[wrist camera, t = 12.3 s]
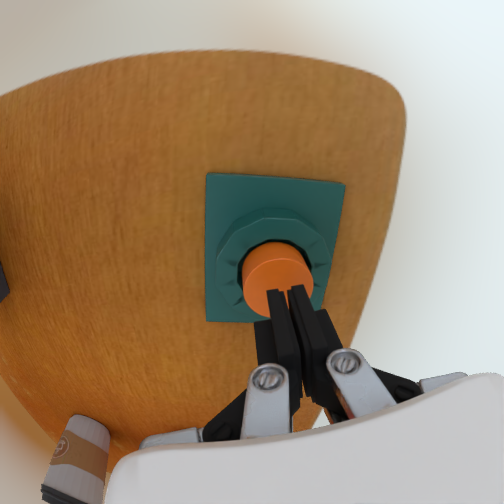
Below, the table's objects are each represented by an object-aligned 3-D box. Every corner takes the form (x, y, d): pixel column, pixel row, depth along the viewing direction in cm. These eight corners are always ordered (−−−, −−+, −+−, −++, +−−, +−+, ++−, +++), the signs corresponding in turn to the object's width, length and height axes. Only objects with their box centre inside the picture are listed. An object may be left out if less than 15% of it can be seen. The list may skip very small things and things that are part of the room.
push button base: (207, 172, 15) (202, 180, 13) (341, 182, 16) (358, 192, 13) (206, 315, 19) (204, 338, 17) (314, 316, 20) (323, 338, 18)
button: (243, 240, 15) (245, 257, 13) (309, 242, 15) (319, 259, 13) (240, 296, 16) (241, 317, 14) (299, 297, 17) (306, 318, 15)
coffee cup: (81, 405, 25) (51, 503, 11) (129, 437, 28) (114, 528, 15) (56, 412, 26) (30, 493, 13) (99, 441, 30) (82, 518, 16)
